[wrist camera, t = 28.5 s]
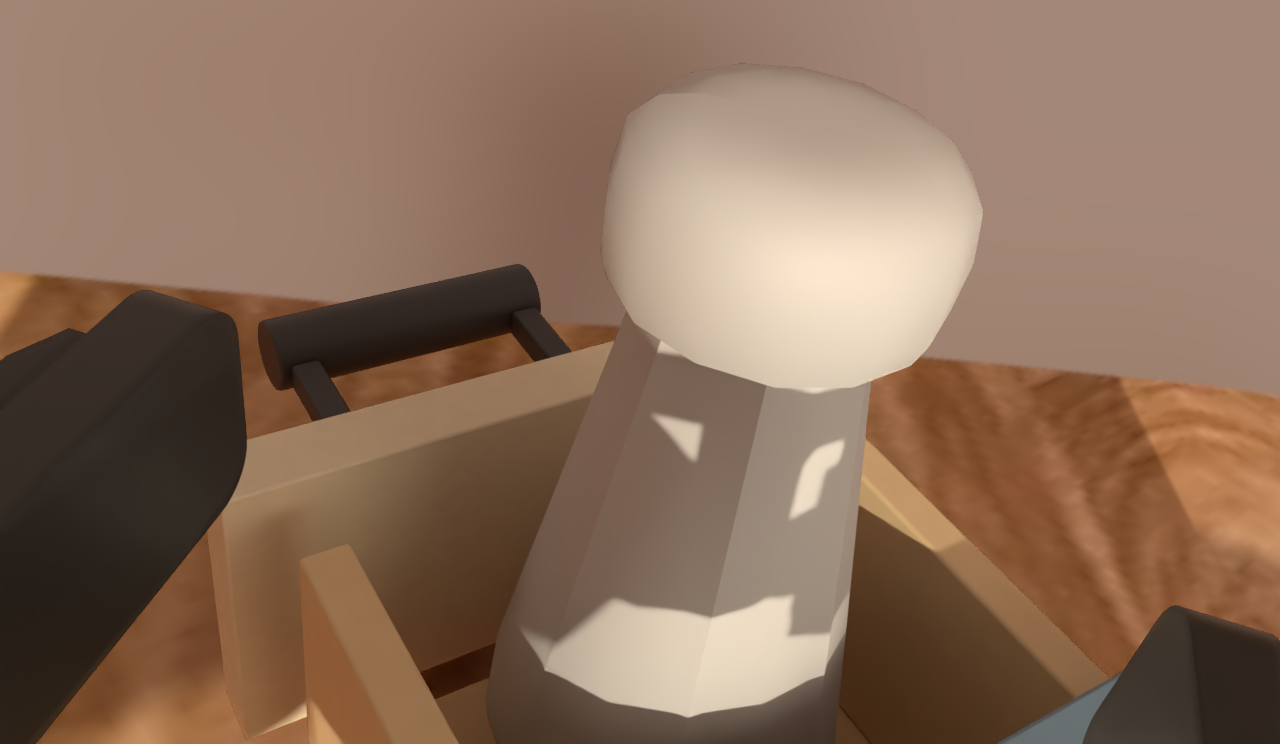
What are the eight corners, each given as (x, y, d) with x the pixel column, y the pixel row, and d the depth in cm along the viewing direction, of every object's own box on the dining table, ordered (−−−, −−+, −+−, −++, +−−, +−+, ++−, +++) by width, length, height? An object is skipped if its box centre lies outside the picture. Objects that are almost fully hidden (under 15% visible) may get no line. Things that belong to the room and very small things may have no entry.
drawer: (143, 491, 26) (103, 251, 22) (591, 365, 31) (624, 157, 27) (578, 1548, 14) (661, 1446, 10) (1167, 1053, 20) (1369, 864, 16)
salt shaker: (676, 598, 24) (836, -15, 16) (866, 823, 21) (1187, 195, 13) (418, 719, 21) (454, 39, 13) (592, 1004, 18) (786, 333, 10)
